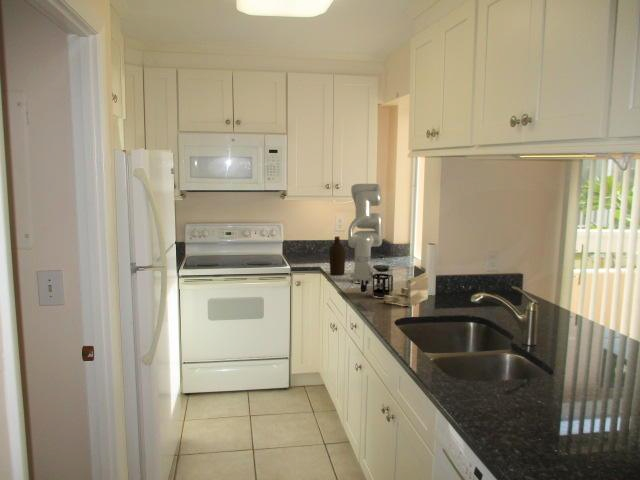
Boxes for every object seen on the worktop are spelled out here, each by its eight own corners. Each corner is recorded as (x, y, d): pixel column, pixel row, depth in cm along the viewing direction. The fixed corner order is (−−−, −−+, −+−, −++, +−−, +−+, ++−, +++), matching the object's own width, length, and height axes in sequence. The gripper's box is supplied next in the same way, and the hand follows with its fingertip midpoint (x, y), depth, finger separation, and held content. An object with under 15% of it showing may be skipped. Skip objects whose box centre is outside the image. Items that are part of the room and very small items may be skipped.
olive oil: (336, 276, 316) (336, 238, 312) (326, 274, 324) (325, 236, 320) (348, 274, 322) (348, 236, 319) (338, 271, 330) (337, 235, 327)
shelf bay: (383, 303, 252) (384, 276, 250) (402, 294, 269) (402, 269, 267) (410, 307, 244) (410, 280, 242) (427, 298, 260) (428, 272, 258)
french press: (374, 299, 259) (374, 257, 256) (368, 295, 268) (369, 254, 265) (395, 298, 262) (395, 256, 258) (389, 294, 271) (389, 253, 267)
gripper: (348, 258, 270) (348, 291, 273) (372, 261, 261) (371, 294, 264) (356, 256, 276) (356, 288, 279) (379, 259, 267) (378, 292, 270)
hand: (363, 291), depth 271 cm, fingers closed
